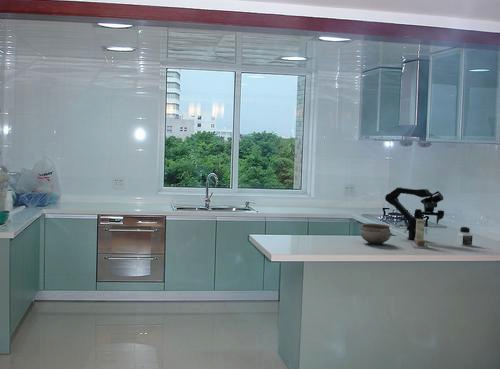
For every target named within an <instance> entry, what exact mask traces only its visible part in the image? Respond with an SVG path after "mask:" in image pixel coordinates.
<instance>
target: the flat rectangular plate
mask: <svg viewBox="0 0 500 369" xmlns="http://www.w3.org/2000/svg"><path fill="white" fill-rule="evenodd" d="M409 244H410V245H411V247H413V249H421V248H422V249H424V250H425V249H427V250H428V249H430V247H429V246H428V245H427V244H426V243H425V241H422V240H416V239H415V238H414V240H413V241H409ZM422 249H421V250H422Z"/></svg>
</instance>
